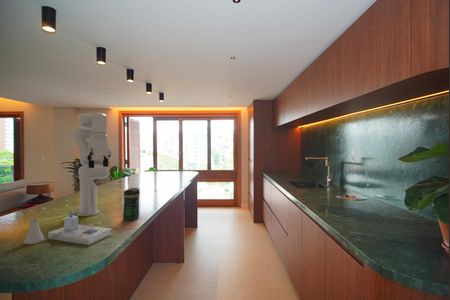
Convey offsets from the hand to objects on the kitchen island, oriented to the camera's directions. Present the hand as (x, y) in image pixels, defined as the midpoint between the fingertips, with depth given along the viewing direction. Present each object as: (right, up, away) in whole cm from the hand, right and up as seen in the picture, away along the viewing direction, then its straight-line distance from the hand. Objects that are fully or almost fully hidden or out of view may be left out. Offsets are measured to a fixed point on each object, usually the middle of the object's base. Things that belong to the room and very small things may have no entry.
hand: (98, 167), depth 126 cm
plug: (-6, -32, -14) cm, 36 cm away
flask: (-17, -33, -22) cm, 43 cm away
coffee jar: (+13, -33, +13) cm, 37 cm away
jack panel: (0, -32, -15) cm, 36 cm away
